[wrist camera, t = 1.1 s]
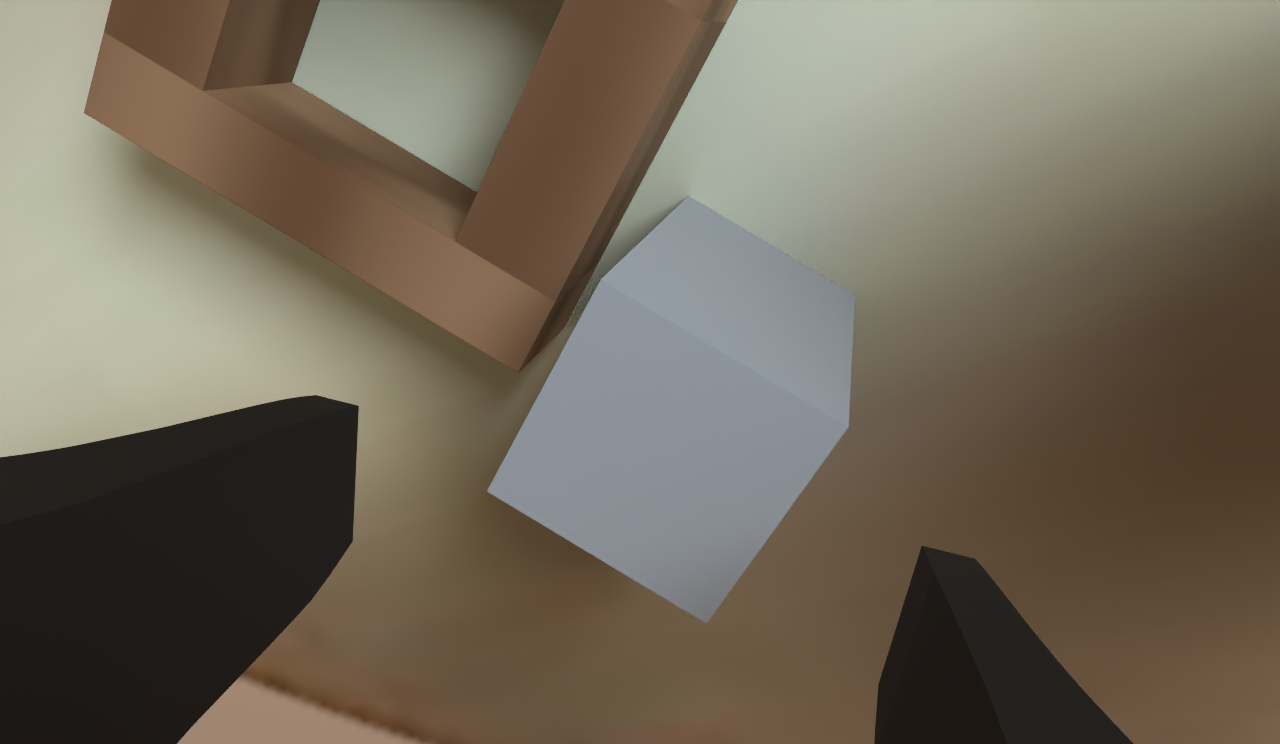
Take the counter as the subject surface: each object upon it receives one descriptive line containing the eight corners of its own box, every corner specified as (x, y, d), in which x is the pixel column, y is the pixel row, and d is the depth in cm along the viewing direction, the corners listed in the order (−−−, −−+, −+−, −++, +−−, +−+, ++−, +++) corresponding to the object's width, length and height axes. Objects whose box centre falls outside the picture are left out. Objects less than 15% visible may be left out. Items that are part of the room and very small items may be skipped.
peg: (855, 294, 19) (848, 426, 13) (755, 441, 21) (706, 623, 15) (688, 196, 19) (601, 279, 13) (602, 350, 21) (486, 491, 15)
